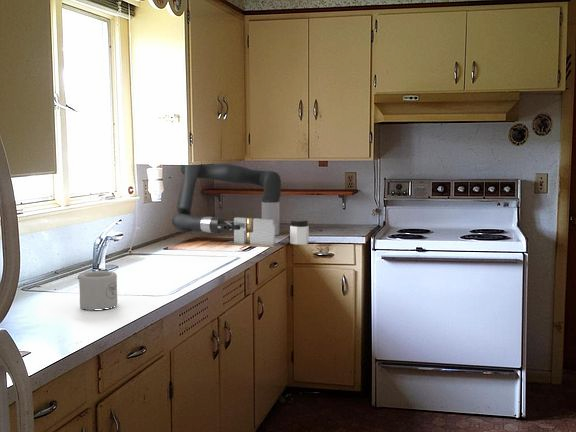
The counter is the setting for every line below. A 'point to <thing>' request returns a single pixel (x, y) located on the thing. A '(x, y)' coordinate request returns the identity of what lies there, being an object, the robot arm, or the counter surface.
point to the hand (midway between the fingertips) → (243, 226)
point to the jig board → (248, 244)
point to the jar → (299, 231)
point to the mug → (98, 290)
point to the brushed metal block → (242, 229)
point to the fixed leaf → (262, 232)
